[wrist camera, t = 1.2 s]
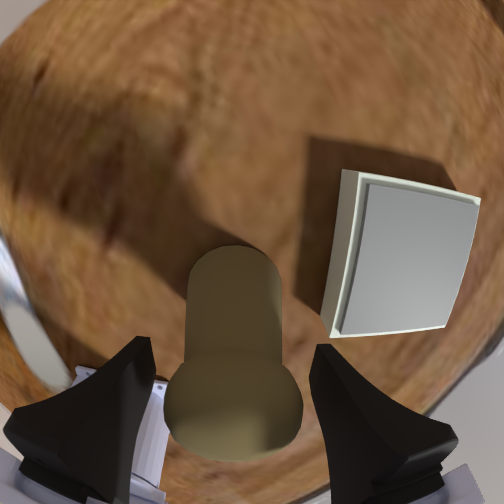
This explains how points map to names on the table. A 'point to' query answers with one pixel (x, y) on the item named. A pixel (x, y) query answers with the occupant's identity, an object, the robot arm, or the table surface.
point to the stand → (395, 255)
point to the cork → (233, 362)
